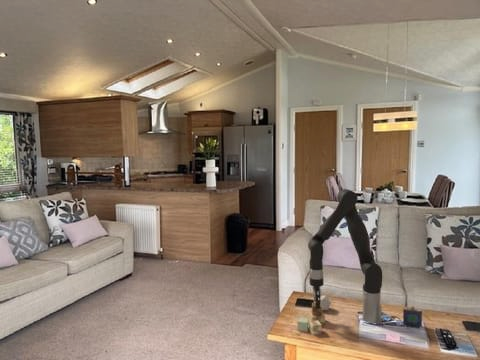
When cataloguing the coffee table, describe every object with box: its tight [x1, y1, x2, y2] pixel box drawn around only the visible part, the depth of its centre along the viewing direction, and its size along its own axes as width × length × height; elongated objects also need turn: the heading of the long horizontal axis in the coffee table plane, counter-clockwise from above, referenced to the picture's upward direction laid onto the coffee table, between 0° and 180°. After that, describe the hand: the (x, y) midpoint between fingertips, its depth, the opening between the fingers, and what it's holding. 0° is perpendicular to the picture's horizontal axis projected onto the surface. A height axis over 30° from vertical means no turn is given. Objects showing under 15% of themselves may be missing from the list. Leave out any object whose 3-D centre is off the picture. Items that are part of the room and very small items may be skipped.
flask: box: [402, 305, 423, 328], centre depth 194 cm, size 9×3×11 cm, turn 74°
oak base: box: [308, 310, 326, 326], centre depth 201 cm, size 7×7×5 cm
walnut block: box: [311, 302, 323, 316], centre depth 201 cm, size 5×5×5 cm
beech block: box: [308, 320, 322, 336], centre depth 191 cm, size 5×5×5 cm
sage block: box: [297, 317, 309, 333], centre depth 194 cm, size 5×5×5 cm
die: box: [314, 295, 332, 312], centre depth 216 cm, size 8×9×10 cm
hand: (317, 304), depth 201 cm, fingers open, 8 cm apart
